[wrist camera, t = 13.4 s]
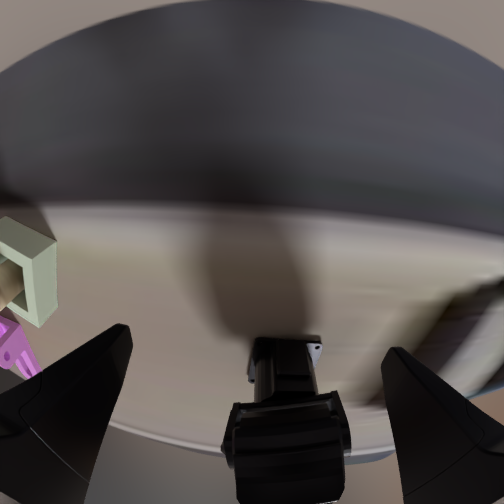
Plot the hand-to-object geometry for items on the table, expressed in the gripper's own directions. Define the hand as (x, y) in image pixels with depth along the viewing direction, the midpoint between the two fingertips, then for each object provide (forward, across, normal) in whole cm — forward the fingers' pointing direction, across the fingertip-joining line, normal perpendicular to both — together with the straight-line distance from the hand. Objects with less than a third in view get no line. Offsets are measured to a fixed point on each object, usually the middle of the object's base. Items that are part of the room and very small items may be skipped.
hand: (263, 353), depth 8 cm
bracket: (+13, +34, +24) cm, 43 cm away
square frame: (+13, +24, +6) cm, 28 cm away
